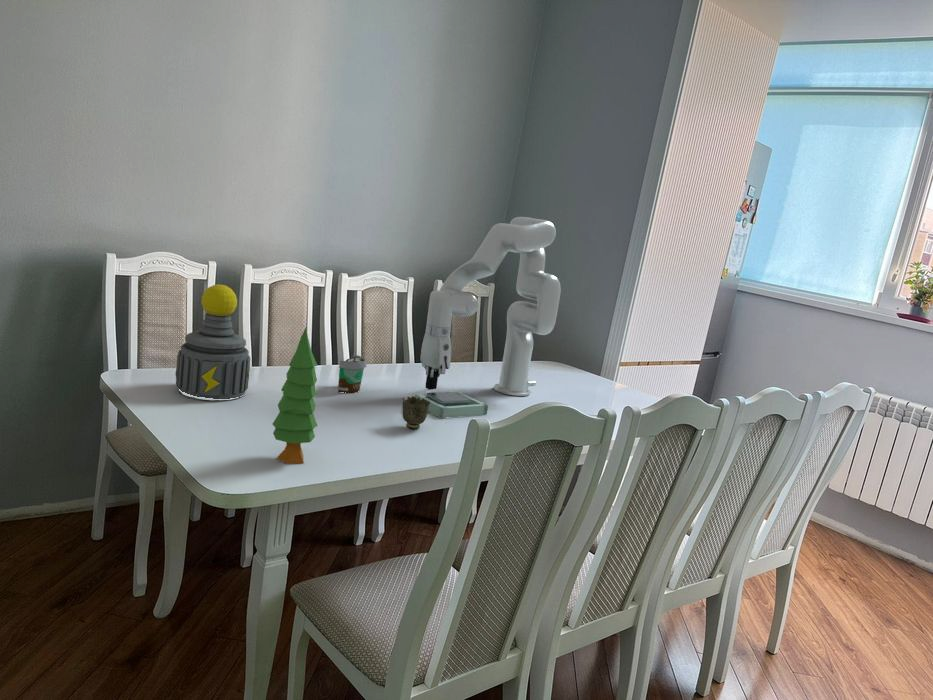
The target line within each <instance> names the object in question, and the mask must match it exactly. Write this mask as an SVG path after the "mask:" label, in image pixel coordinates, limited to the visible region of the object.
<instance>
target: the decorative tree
mask: <svg viewBox="0 0 933 700" xmlns="http://www.w3.org/2000/svg"><path fill="white" fill-rule="evenodd" d="M288 365H289V369H288V370H287V372H286V380H285V382H284V384H283V386H282V387H281V389H280V390H281V391H282V395H283V396H282V397H281V398H280V400H279V401H278V404H277V407H278V410H279V411H278V414H277V416H276V417H275V419H274V421H273V423H272V426H274V428H275V429H274V431H273V432H272V434H273V436H274V437H273V438H274V439H275V440H277V441H280V442H285V443H286V446H285V448H284V449H283V450H282V451H281V453H279V455H277V457H278V458H277V460H279V459H280V460H279V462H281V461H283V462H282V463H284V462H286V463H285V464H287V463H290V464H289V465H292V464H291V463H293V465H294V464H295V465H296V464H297V465H300V464H303V465H304V464H305V461H304V453H303V449H302V445H301V444H308V443H312V441H313V440H314V438H316V435H315V431H314V429H315V428H316V427H318V423H317V420H316V417H315V415H314V412H315V409H316V408H317V406H316V403H315V400H314V397H316V396H317V389H316V383H317V381H318V379H317V378H318V377H317V373H316V369H315V367H317V366H318V363H317V361H316V359H315V356H314V353H313V351H312V347H311V344H310V339H309V335H308V330H307V327H305V328H304V330H303V332H302V335H301V336H300V340H299V342H298V344H297V347H296V351H295V352H294V354H293V356H292V357H291V360H290V361H289V364H288Z"/></svg>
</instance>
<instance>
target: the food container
mask: <svg viewBox="0 0 933 700" xmlns="http://www.w3.org/2000/svg"><path fill="white" fill-rule="evenodd" d="M338 368H339V373H338V384H337V385H338V386H337V387H338V388H337V393H340V392H344V393H343V394H356V393H355V392H358V391H359V392H360V391H361V386H362V381H363V375H364V371H365V369H366V368H367V360H366V358H365V357H363V356H360V355H357V354H353V355H352V357H351V358H347V359H346V360H340V362H339V365H338ZM345 392H346V393H345ZM359 392H358V393H359Z"/></svg>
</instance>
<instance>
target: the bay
mask: <svg viewBox="0 0 933 700" xmlns="http://www.w3.org/2000/svg"><path fill="white" fill-rule="evenodd" d="M454 392H455V393H457V394H459V395H461V396H463V397H465V398H467V399H469V400H470V402H469V405H460V406H447V407H445V406H443V405H440V404H438V403H436V402H434V401H432V400H430V399H428V398H426V396H424V395H422V394H420V393H416V394H415V393H414V394H413V396H414V397H415V398H417V399H418V398H420V401H421V400H422V399H423V398H424V400H425V399H427V402H428V401H429V402H430V406H429V410H428V413H431V414H433V415H435V416H437V417H439V416H440V417H439V418H441V417H442V418H441V419H447V418H446V417H454V418H460V417H459V416H466V417H475V415H477V416H487V415H488V411H489V410H488V408H489V404H486V403H484V402H482V401H479V400H477V399H475V398H473V397H471V396H469V395H467V394H464V393H462V392H460V391H454ZM486 414H487V415H486Z"/></svg>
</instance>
